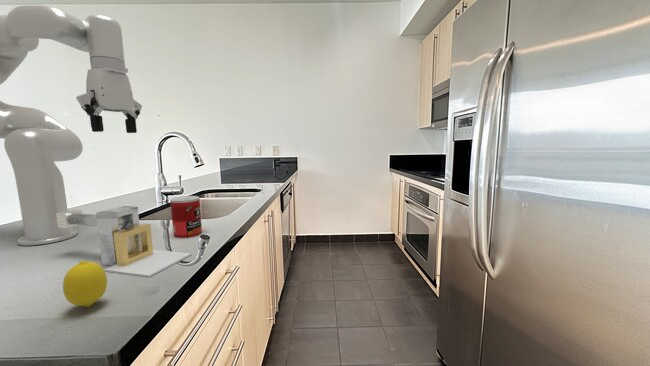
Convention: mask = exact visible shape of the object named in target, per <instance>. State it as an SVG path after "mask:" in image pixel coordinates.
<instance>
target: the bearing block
mask: <svg viewBox="0 0 650 366" xmlns="http://www.w3.org/2000/svg"><path fill="white" fill-rule="evenodd" d="M95 215H96V218H97V226H98V227H97V230H98V231H97V232H98V240H99V248H100V257H101V264H102V265H104V266H109V267H111V266H114V265H116V264H117V258H116V250H115V241H114V233H115V232H118V231H121V230H125V229H128V228H131V227H135V226H138V225H141V224H140V217H139V207H138V206H132V205H131V206H128V205H124V206H123V205H122V206H120V207H115V208H111V209H106V210H102V211H98V212H95ZM120 216H124V217H126V218H127V219H128V224H127V226H126V227H125V228H123V229H119V226H118V217H120ZM126 239H127V248H128V255H131V254H133V253H136V252H138V251H141V250H142V246H141V236H140V233H138V234H135V235H131V236H128V237H126Z"/></svg>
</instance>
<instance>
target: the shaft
mask: <svg viewBox="0 0 650 366" xmlns="http://www.w3.org/2000/svg"><path fill="white" fill-rule="evenodd" d="M82 212H83V211H82V210H81V209H68V211H63V212H58V213H56V216H57V223H58V227H59V228H74V227H76V226H84V227H85V226H86V227H96V228H98V226H97V218H96V214H93V213H92V214H91V213H82ZM127 224H128V219H127V218H126V217H124V216H120V217H118V226H119V229H123V228H125V227H126V226H127Z"/></svg>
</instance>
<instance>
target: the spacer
mask: <svg viewBox="0 0 650 366" xmlns="http://www.w3.org/2000/svg"><path fill="white" fill-rule="evenodd" d="M138 233H140V236H141V246H142V250H141V251H138V252H136V253H133V254H131V255H128V248H127V239H126V237H128V236H131V235H135V234H138ZM114 241H115V250H116V258H117V265H119V266H126V265H128V264H131V263H133V262H135V261H138V260H140V259H142V258H145V257H147V256H149V255H152V254H153V250H154V248H153V239H152V230H151V224H150V223H142V224H140V225H138V226H135V227H131V228H128V229H125V230H121V231H118V232H115V233H114Z"/></svg>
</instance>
